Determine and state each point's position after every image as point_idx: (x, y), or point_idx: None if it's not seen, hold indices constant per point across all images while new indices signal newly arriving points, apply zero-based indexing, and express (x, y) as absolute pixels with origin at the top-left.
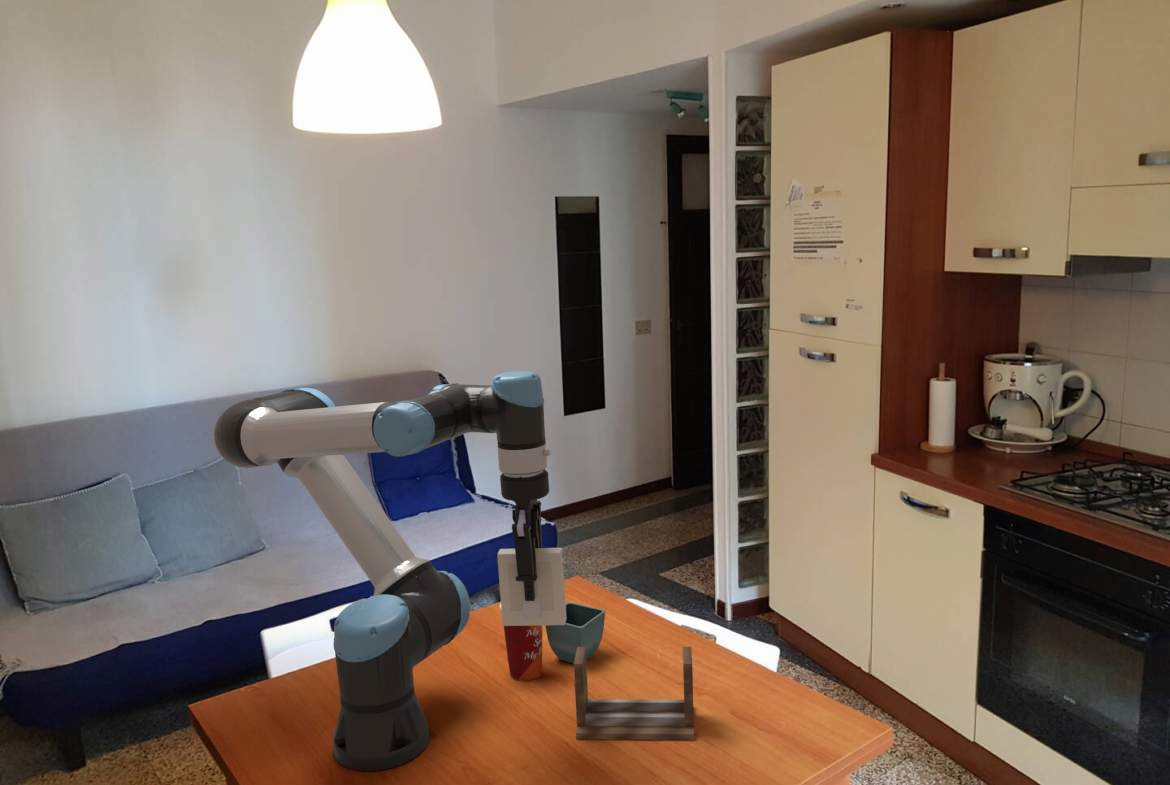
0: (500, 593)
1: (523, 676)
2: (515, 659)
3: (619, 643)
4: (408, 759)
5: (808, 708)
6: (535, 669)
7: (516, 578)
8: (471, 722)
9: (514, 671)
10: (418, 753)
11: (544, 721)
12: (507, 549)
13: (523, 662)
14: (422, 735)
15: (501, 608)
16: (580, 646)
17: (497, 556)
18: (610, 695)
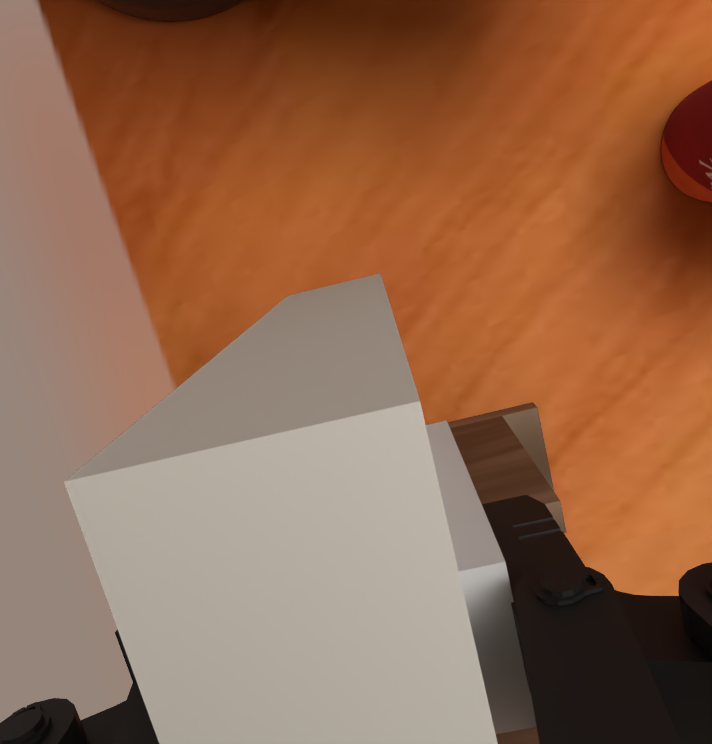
0: (250, 329)
1: (666, 157)
2: (697, 121)
3: None
4: (103, 3)
5: None
6: (698, 195)
7: (120, 641)
8: (367, 98)
9: (678, 118)
10: (146, 17)
11: (429, 325)
12: (419, 581)
13: (691, 157)
14: (164, 2)
15: (271, 310)
16: None
17: (86, 464)
18: (612, 462)
